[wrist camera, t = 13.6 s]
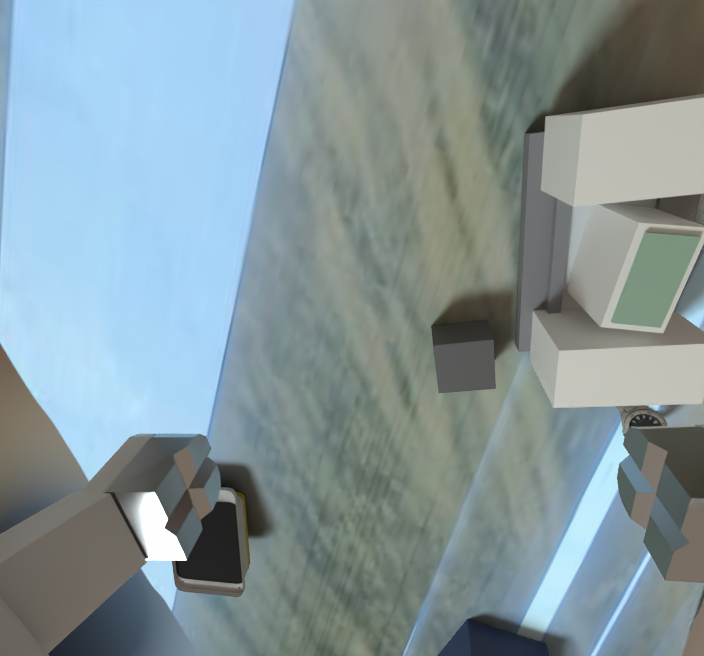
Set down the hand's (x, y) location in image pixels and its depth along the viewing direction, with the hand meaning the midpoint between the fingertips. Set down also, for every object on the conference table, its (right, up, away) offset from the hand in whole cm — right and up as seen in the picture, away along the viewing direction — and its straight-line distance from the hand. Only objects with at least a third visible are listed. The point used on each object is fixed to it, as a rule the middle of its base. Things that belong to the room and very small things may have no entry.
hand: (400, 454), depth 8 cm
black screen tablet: (-19, -32, +47) cm, 59 cm away
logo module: (+19, +9, +24) cm, 32 cm away
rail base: (+19, +9, +25) cm, 33 cm away
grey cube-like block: (+9, +1, +31) cm, 33 cm away
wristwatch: (+26, -5, +32) cm, 42 cm away
